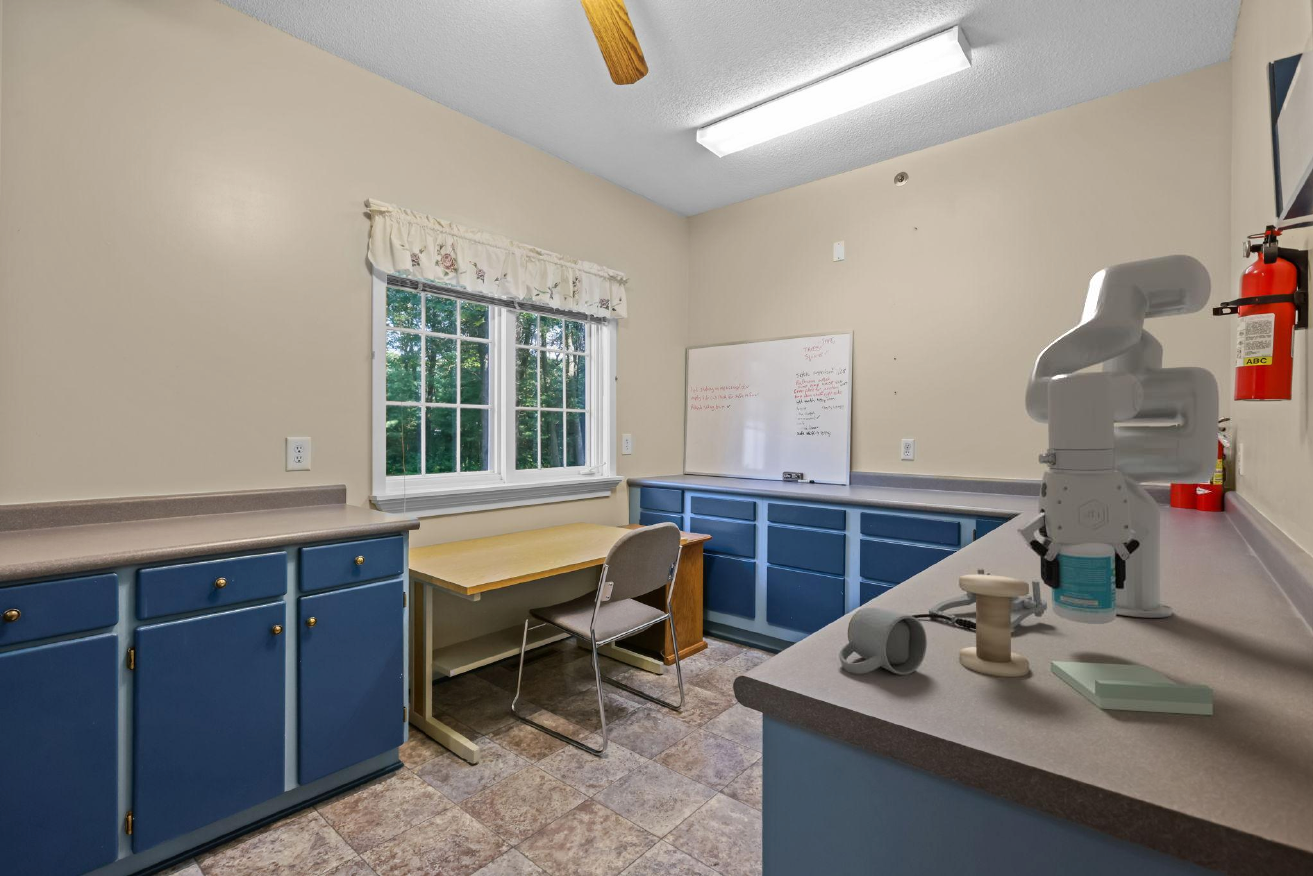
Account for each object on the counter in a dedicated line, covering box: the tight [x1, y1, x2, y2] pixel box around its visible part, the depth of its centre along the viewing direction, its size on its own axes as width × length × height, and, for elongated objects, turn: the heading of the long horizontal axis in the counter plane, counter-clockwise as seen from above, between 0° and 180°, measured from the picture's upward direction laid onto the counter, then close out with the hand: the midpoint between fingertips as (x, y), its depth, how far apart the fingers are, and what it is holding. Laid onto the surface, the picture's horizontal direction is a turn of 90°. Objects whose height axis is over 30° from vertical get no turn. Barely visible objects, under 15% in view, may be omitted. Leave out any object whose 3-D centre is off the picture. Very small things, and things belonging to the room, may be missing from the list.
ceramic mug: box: [838, 607, 928, 676], centre depth 79 cm, size 10×8×7 cm
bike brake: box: [911, 567, 1048, 630], centre depth 98 cm, size 14×7×20 cm
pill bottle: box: [1051, 543, 1117, 625], centre depth 85 cm, size 8×7×14 cm
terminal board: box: [1050, 660, 1214, 716], centre depth 71 cm, size 11×11×3 cm
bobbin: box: [958, 573, 1030, 678], centre depth 79 cm, size 8×8×11 cm
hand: (1082, 585), depth 85 cm, fingers closed on pill bottle, 7 cm apart
